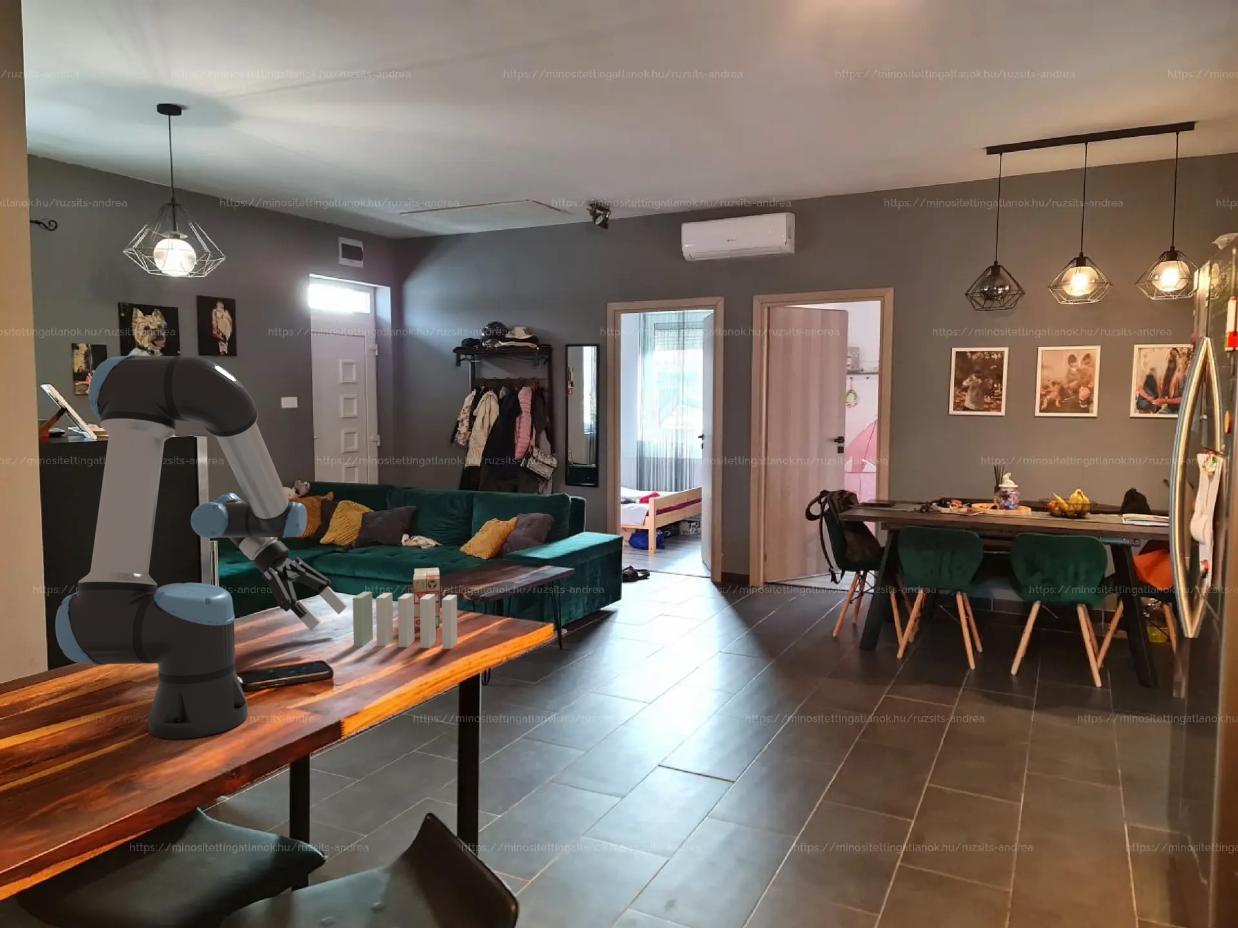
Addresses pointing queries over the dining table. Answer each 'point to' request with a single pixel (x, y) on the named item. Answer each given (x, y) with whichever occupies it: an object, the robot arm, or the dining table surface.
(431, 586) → the stack of blocks
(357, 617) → the sage domino
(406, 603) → the domino
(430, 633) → the domino
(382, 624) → the domino
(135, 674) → the dining table surface
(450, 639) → the domino
